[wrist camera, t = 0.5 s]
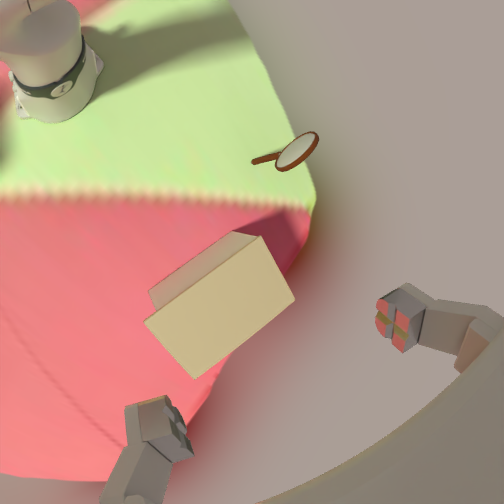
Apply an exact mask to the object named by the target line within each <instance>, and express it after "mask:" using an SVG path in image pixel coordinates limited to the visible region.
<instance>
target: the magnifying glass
mask: <svg viewBox="0 0 504 504" xmlns="http://www.w3.org/2000/svg"><path fill="white" fill-rule="evenodd" d="M318 141H319V137H318V135H317V134H316V133H315V132H307V133H304V134H302V135H300V136H299V137H297V138H296V139H294V140H293V141H292V142H291V143H290V144H288V145H287V146H286V147H285V148H284V150H283V151H282V152H277V153H273V154H269V155H266V156H262V157H259V158H256V159H253V160H252V161H251V164H253V165H256V164H260V163H264V162H268V161H272V160H276V159H277V160H276V162H275V167H276V169H277V170H278V171H280V172H284V171H288V170H290V169H292V168H294V167H296V166H297V165H299V164H300V163H301V162H303V161H304V160H305V159H306V158H307V157H308V156H309V155H310V154H311V153H312V152H313V150H314V149H315V147H316V146H317V144H318Z"/></svg>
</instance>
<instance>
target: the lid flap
mask: <svg viewBox="0 0 504 504" xmlns="http://www.w3.org/2000/svg"><path fill="white" fill-rule="evenodd" d="M293 301H295V298H294V296H293V294H292V293H291V290H290V289H289V287H288V285H287V283H286V281H285V279H284V277H283V276H282V274H281V272H280V270H279V268H278V266H277V264H276V263H275V261H274V259H273V257H272V255H271V253H270V251H269V250H268V248H267V246H266V244H265V242H264V240H263V239H262V237H261V236H258V237H257V238H255V239H254V240H253V241H251V242H250V243H248V244H247V245H246V246H244V247H243V248H242V249H240V250H239V251H237V252H236V253H235V254H233V255H232V256H231V257H229V258H228V259H226V260H225V261H224V262H222V263H221V264H220V265H218V266H217V267H215V268H214V269H213V270H211V271H210V272H209V273H207V274H206V275H205V276H203V277H202V278H200V279H199V280H198V281H196V282H195V283H194V284H192V285H191V286H190V287H188V288H187V289H185V290H184V291H183V292H181V293H180V294H179V295H177V296H176V297H175V298H173V299H172V300H171V301H169V302H168V303H166V304H165V305H164V306H162V307H161V308H160V309H158V310H157V311H156V312H154V313H153V314H152V315H150V316H149V317H148V318H146V319H145V320H144V321H143V322H144V324H145V325H146V326H147V327H148V328H149V330H150V331H151V332H152V333H153V334H154V336H155V337H156V338H157V339H158V340H159V341H160V343H161V344H162V345H163V346H164V347H165V348H166V350H167V351H168V352H169V353H170V354H171V355H172V356H173V357H174V358H175V360H176V361H177V362H178V363H179V364H180V365H181V366H182V367H183V368H184V369H185V370H186V371H187V373H188V374H189V375H190V376H191V377H192V378H193V379H194V380H195V379H196V378H198V377H199V376H200V375H202V374H203V373H204V372H206V371H207V370H208V369H210V368H211V367H212V366H214V365H215V364H216V363H218V362H219V361H220V360H222V359H223V358H224V357H225V356H227V355H228V354H229V353H231V352H232V351H233V350H235V349H236V348H237V347H238V346H239V345H241V344H242V343H243V342H245V341H246V340H247V339H248V338H250V337H251V336H252V335H253V334H255V333H256V332H257V331H258V330H260V329H261V328H262V327H263V326H264V325H266V324H267V323H268V322H269V321H270V320H272V319H273V318H274V317H275V316H276V315H278V314H279V313H280V312H281V311H283V310H284V309H285V308H286V307H287V306H289V305H290V304H291V303H292V302H293Z"/></svg>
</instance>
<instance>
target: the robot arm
mask: <svg viewBox="0 0 504 504" xmlns="http://www.w3.org/2000/svg"><path fill="white" fill-rule="evenodd" d="M0 61H2V62H4V63H5V64H6V65H7V66H8V67H9V68H10V69H11V71H9V78H10V81H11V82H13V86H12V88H13V92H14V95H15V103H16V110H17V115H18V117H19V118H20V119H36V120H38V121H40V122H44V123H58V122H62V121H65V120H67V119H69V118H71V117H73V116H74V115H76V114H77V113H78V112H79V111H81V110H82V109H83V108H84V106H85V105H86V104H87V103H88V101H89V100H90V98H91V96H92V94H93V91H94V88H95V84H96V79H97V77H98V76H99V74H100V73H101V71H102V70H103V68H104V63H103V61H102V60H101V59H100V58H99V57H98V55H97V54H96V53H95V52H94V51H93V50H92V49H91V48H90V47H89V45H88V44H87V43H86V42H85V40H84V37H83V35H82V33H81V25H80V15H79V12H78V10H77V8H76V7H75V6H74V5H73V4H71V3H70V2H68V1H67V0H0ZM21 107H22V109H21ZM376 308H377V309H378V310H379V311H378V313H377V315H376V320H375V323H376V326H377V329H378V331H379V332H380V333H381V334H382V335H383V336H384V337H385V338H391V340H392V344H393V345H394V346H395V347H396V348H397V349H398V350H399V351H401V352H402V353H404V352H406V351H407V350H409V349H410V348H411V347H413V346H414V345H416V344H417V343H418V344H419V345H423V346H426V347H429V348H433V349H436V350H439V351H443V352H446V353H449V354H453V355H456V356H457V359H456V361H455V364H454V368H455V369H456V370H457V371H459V372H460V373H461V374H460V375H459V376H458V377H457V378H456V379H455V380H454V381H453V382H452V383H451V384H450V385H449V386H448V387H447V388H446V389H444V391H442V392H441V393H440V394H439V395H438V396H437V397H435V399H433V400H432V401H431V402H430V403H429V404H427V405H426V406H425V407H424V408H422V409H421V410H420V411H419V412H418V413H416V414H415V415H414V416H413V417H411V418H410V419H409V420H407V421H406V422H405V423H403V424H402V425H401V426H399V427H398V428H397V429H395V430H394V431H392V432H391V433H390V434H388V435H387V436H385V437H384V438H382V439H381V440H380V441H378V442H377V443H375V444H374V445H372V446H371V447H369V448H367V449H366V450H364V451H363V452H361V453H359V454H358V455H356V456H355V457H353V458H351V459H349V460H348V461H346V462H344V463H343V464H341V465H339V466H337V467H335V468H334V469H332V470H330V471H328V472H326V473H324V474H322V475H320V476H318V477H316V478H314V479H312V480H310V481H308V482H306V483H304V484H302V485H299V486H297V487H295V488H293V489H291V490H288V491H286V492H284V493H281V494H279V495H276V496H274V497H271V498H269V499H266V500H263V501H261V502H258V503H255V504H504V317H502V316H501V315H499V314H498V313H496V312H495V311H493V310H492V309H490V308H489V307H487V306H483V305H475V304H468V303H461V302H454V301H447V300H439V299H438V300H437V301H436V300H434V299H433V298H431V297H430V296H428V295H427V294H425V293H424V292H422V291H421V290H419V289H418V288H416V287H414V286H413V285H411V284H410V283H405V284H403V285H402V286H400V287H398V288H397V289H395V290H393V291H391V292H390V293H388V294H387V295H385V296H384V297H382V298H380V299H379V300H378V301H377V304H376ZM124 414H125V425H126V435H127V443H128V446H126V447H124V448H123V450H122V452H121V454H120V456H119V458H118V461H117V463H116V465H115V467H114V469H113V471H112V473H111V475H110V477H109V479H108V481H107V483H106V485H105V487H104V489H103V491H102V494H101V496H100V498H99V502H100V504H162V502H163V499H164V495H165V491H166V488H167V484H168V481H169V477H170V473H171V470H172V467H173V464H172V463H175V462H178V461H182V460H184V459H188V458H191V457H194V452H193V449H192V446H191V442H190V440H189V439H188V438H187V437H186V436H185V434H186V432H187V429H186V425H185V422H184V420H183V417H182V415H181V414H180V412H179V410H178V409H177V408H176V407H174V406H172V403H171V400H170V399H169V397H168V396H167V395H163V396H160V397H156V398H153V399H149V400H146V401H142V402H138V403H135V404H132V405H128V406H125V410H124Z"/></svg>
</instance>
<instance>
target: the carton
mask: <svg viewBox="0 0 504 504" xmlns="http://www.w3.org/2000/svg"><path fill="white" fill-rule="evenodd" d="M255 238H257V236H253V235H248V234H243V233H238V232H234V231H231V232H229V233H228V234H226V235H225V236H224V237H222V238H221V239H219V240H218V241H216V242H215V243H214V244H212V245H211V246H209V247H208V248H206V249H205V250H204V251H202V252H201V253H199V254H198V255H197V256H195V257H194V258H192V259H191V260H190V261H188V262H187V263H185V264H184V265H183V266H181V267H180V268H179V269H177V270H176V271H174V272H173V273H172V274H170V275H169V276H167V277H166V278H165V279H163V280H162V281H161V282H159V283H158V284H157V285H155V286H154V287H152V288H151V289H150V290H148V293H149V295H150V298H151V300H152V302H153V305H154V307H155V309H156V311H157V310H158V309H160V308H161V307H162V306H164V305H165V304H166V303H168V302H169V301H171V300H172V299H173V298H175V297H176V296H177V295H179V294H180V293H181V292H183V291H184V290H185V289H187V288H188V287H190V286H191V285H192V284H194V283H195V282H196V281H198V280H199V279H200V278H202V277H203V276H205V275H206V274H207V273H209V272H210V271H211V270H213V269H214V268H215V267H217V266H218V265H220V264H221V263H222V262H224V261H225V260H226V259H228V258H229V257H231V256H232V255H233V254H235V253H236V252H237V251H239V250H240V249H242V248H243V247H244V246H246V245H247V244H248V243H250V242H251V241H253V240H254V239H255Z"/></svg>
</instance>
